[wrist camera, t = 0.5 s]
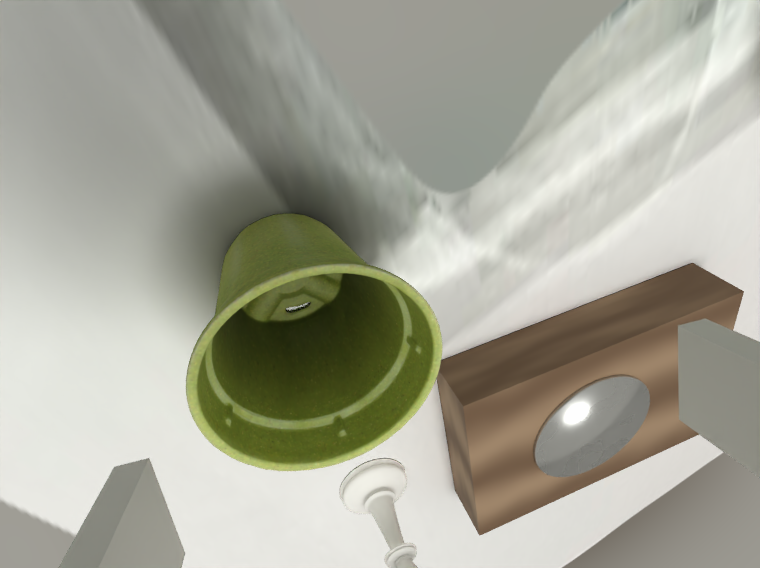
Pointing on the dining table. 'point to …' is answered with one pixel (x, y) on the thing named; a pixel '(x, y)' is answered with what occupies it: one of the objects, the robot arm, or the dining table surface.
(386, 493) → the chess piece
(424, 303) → the plant pot
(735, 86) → the dining table surface
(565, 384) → the walnut base
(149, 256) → the dining table surface
